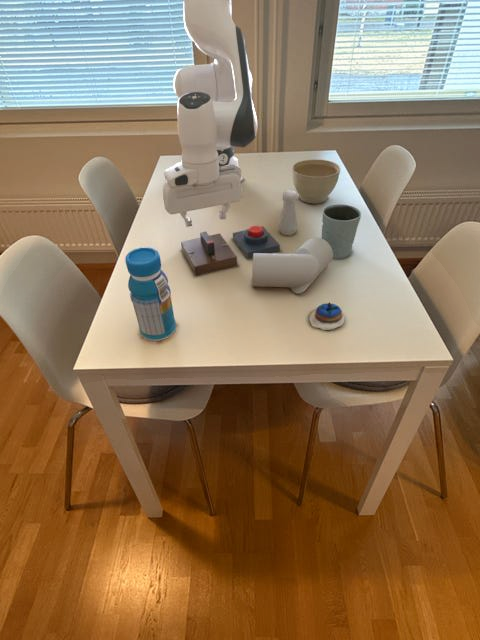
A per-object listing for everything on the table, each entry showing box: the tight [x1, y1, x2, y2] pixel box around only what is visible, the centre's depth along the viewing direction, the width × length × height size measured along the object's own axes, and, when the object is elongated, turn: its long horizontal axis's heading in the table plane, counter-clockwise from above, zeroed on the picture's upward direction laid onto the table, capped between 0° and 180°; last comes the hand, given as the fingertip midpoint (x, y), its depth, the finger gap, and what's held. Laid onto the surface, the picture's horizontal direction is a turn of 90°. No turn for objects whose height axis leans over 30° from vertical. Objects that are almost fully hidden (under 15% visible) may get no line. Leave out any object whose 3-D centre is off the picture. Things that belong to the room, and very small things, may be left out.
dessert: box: [308, 301, 345, 331], centre depth 92 cm, size 8×7×6 cm
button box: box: [232, 226, 281, 260], centre depth 117 cm, size 12×10×4 cm
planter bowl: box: [291, 158, 342, 204], centre depth 138 cm, size 16×16×11 cm
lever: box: [199, 231, 215, 256], centre depth 111 cm, size 7×2×4 cm, turn 22°
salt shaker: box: [278, 189, 299, 236], centre depth 119 cm, size 6×6×13 cm
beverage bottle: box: [124, 246, 177, 342], centre depth 85 cm, size 8×8×20 cm
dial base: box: [180, 233, 238, 277], centre depth 113 cm, size 14×12×3 cm
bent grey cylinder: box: [252, 236, 334, 294], centre depth 102 cm, size 18×10×20 cm
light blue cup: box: [320, 203, 362, 260], centre depth 111 cm, size 10×10×12 cm
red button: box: [248, 225, 263, 237], centre depth 115 cm, size 4×4×2 cm
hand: (205, 222), depth 106 cm, fingers open, 8 cm apart
